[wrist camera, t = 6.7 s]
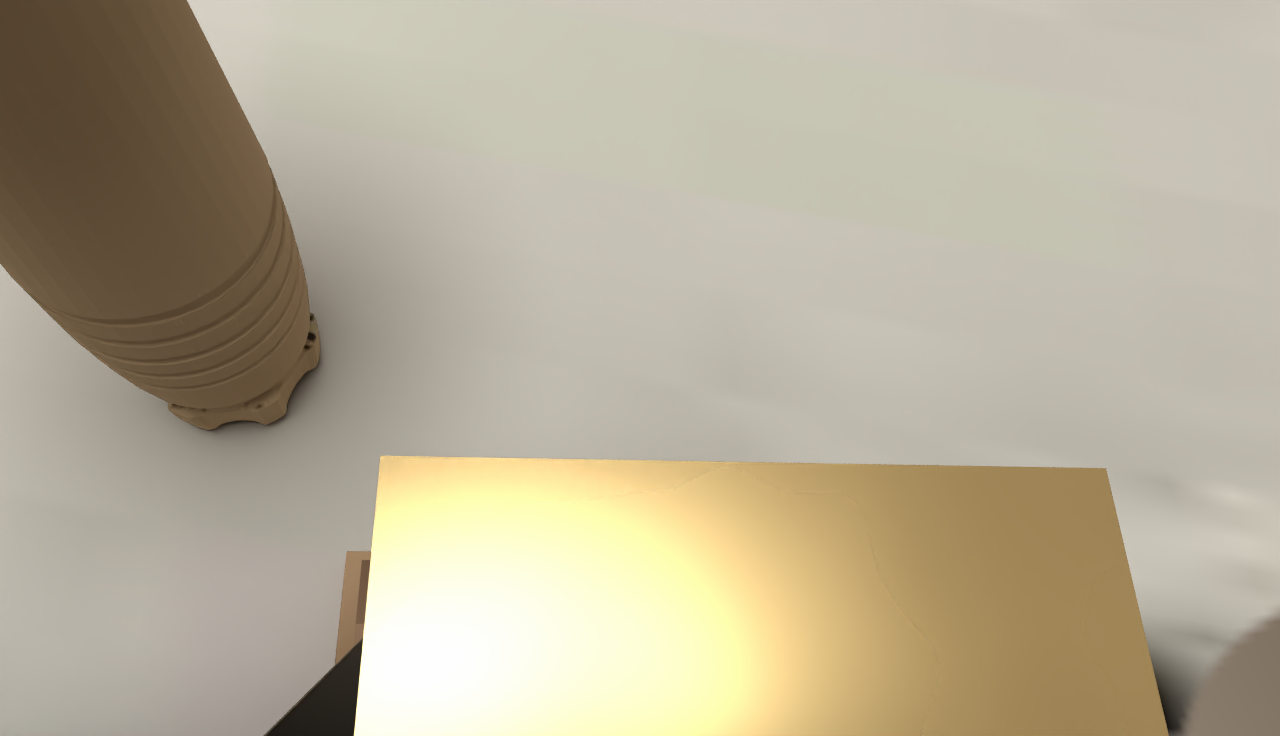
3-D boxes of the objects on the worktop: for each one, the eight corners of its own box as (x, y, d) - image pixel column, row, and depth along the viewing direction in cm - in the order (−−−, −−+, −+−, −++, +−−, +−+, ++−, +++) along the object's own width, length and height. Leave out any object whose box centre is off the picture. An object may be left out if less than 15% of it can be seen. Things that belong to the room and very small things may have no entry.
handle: (357, 222, 21) (65, -826, 7) (370, 500, 18) (-36, -296, 5) (124, 237, 20) (-696, -915, 6) (105, 530, 18) (-1287, -330, 4)
